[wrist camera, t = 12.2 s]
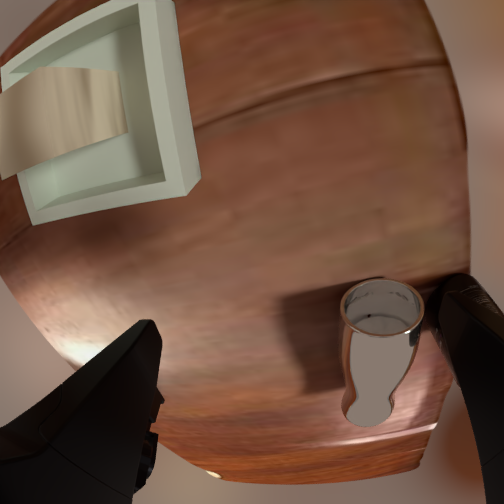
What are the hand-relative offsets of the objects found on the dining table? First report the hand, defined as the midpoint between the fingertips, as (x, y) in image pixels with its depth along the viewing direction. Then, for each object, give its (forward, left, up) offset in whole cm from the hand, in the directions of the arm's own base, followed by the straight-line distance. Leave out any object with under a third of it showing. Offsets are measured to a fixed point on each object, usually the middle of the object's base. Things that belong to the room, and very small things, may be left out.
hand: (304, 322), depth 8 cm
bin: (-12, +8, -13) cm, 19 cm away
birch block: (-12, +8, -12) cm, 19 cm away
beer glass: (+8, -23, -10) cm, 26 cm away
